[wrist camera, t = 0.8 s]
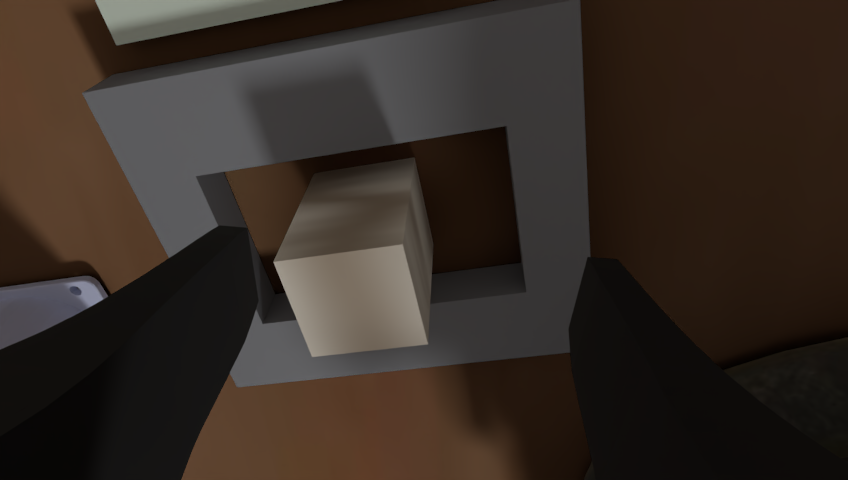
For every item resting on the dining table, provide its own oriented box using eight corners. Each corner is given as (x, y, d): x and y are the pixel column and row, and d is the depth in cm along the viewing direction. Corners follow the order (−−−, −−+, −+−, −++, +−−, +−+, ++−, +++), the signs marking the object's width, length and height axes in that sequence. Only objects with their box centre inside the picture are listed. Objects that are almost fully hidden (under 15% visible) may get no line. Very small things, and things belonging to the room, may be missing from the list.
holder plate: (250, 355, 28) (237, 387, 26) (112, 74, 20) (82, 93, 19) (585, 318, 25) (594, 349, 24) (568, -14, 18) (580, -2, 16)
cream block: (341, 256, 24) (312, 357, 19) (314, 173, 22) (273, 261, 17) (433, 243, 24) (427, 344, 19) (414, 157, 22) (402, 244, 17)
